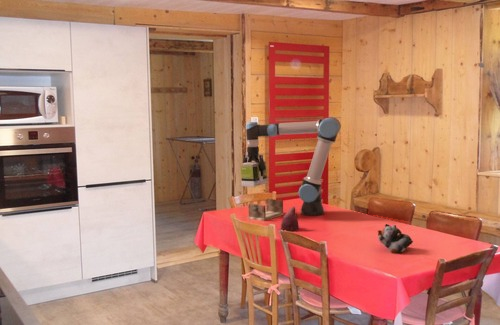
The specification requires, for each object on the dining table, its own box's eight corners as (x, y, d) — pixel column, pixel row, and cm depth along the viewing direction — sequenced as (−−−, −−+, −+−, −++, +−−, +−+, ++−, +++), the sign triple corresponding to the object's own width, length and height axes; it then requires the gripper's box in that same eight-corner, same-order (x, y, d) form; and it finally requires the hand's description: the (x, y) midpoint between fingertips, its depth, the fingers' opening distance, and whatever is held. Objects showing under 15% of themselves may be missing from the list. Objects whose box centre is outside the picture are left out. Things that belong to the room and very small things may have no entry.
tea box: (255, 183, 360) (253, 160, 358) (267, 183, 354) (266, 161, 352) (241, 186, 348) (240, 163, 346) (254, 187, 342) (252, 163, 340)
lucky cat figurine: (398, 255, 258) (384, 229, 259) (382, 259, 268) (368, 234, 270) (418, 241, 266) (404, 216, 267) (402, 245, 276) (388, 221, 277)
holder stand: (284, 214, 356) (283, 200, 354) (263, 221, 337) (262, 206, 336) (269, 212, 363) (268, 198, 362) (247, 219, 344) (247, 204, 343)
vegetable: (299, 233, 318) (306, 208, 317) (293, 235, 309) (300, 209, 307) (283, 227, 322) (290, 203, 321) (277, 229, 313) (284, 204, 312)
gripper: (235, 146, 352) (237, 180, 354) (263, 147, 338) (265, 182, 341) (242, 145, 358) (244, 179, 360) (270, 145, 344) (272, 180, 346)
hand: (254, 180), depth 350 cm, fingers closed on tea box, 10 cm apart
